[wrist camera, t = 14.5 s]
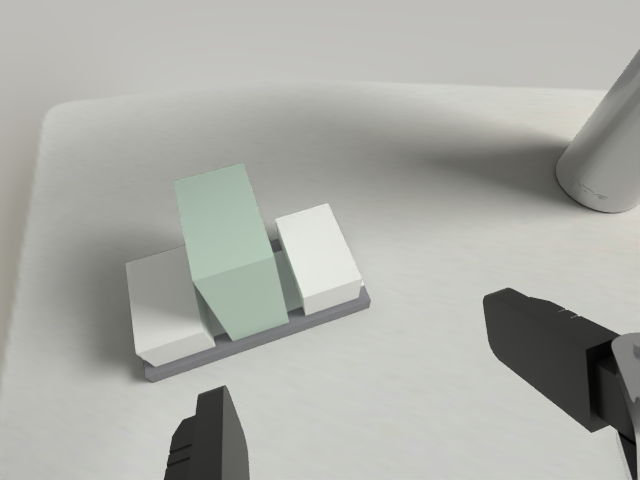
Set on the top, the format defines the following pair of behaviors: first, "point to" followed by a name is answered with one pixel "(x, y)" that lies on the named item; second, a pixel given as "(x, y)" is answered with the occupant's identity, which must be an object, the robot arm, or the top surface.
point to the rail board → (202, 324)
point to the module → (230, 251)
